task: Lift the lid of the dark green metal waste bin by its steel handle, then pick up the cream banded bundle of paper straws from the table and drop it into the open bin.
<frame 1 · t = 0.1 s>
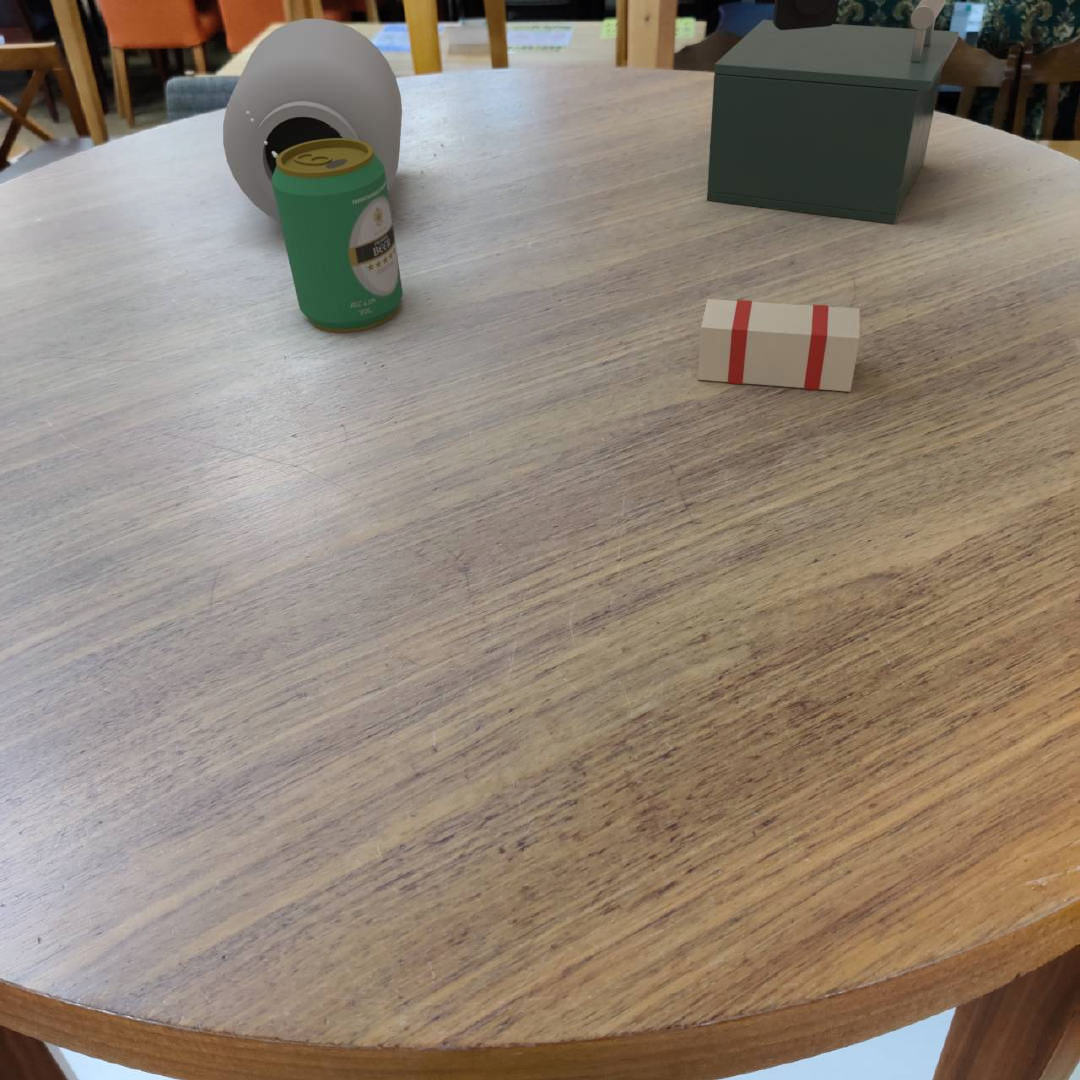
hand: (775, 4, 56), 22 cm above the table, tool pointing down, fingers open, 9 cm apart
bin lid: (842, 25, 85), point 13 cm above the table, hinge at 0.0°
straw bundle: (774, 370, 69), on the table
jar: (349, 223, 93), on the table
beverage can: (353, 312, 79), on the table
bin: (817, 182, 94), on the table
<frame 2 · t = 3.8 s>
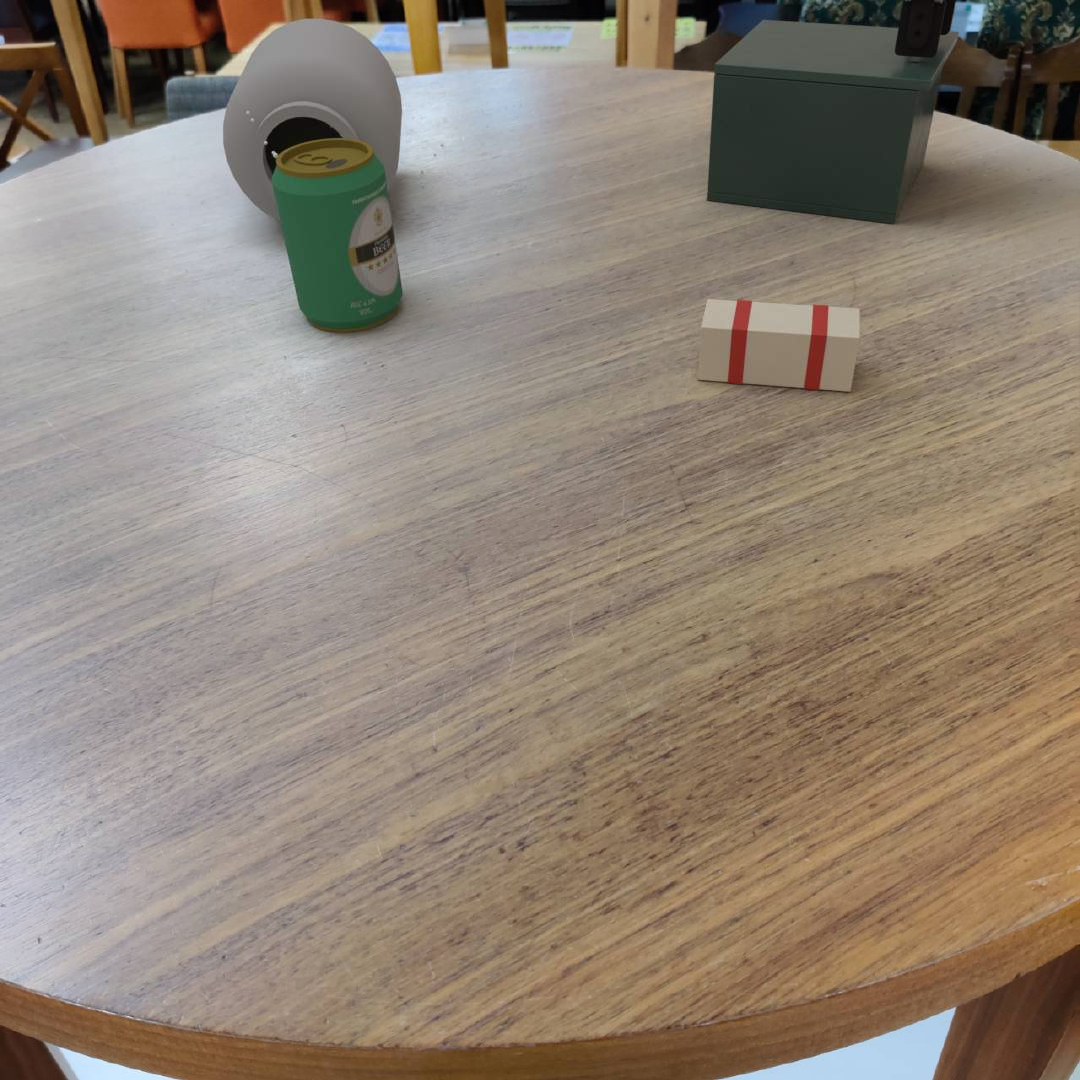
hand: (922, 41, 84), 12 cm above the table, tool pointing down, fingers closed on bin lid, 6 cm apart
bin lid: (842, 25, 85), point 13 cm above the table, hinge at 0.0°, touching gripper
everything else where it was.
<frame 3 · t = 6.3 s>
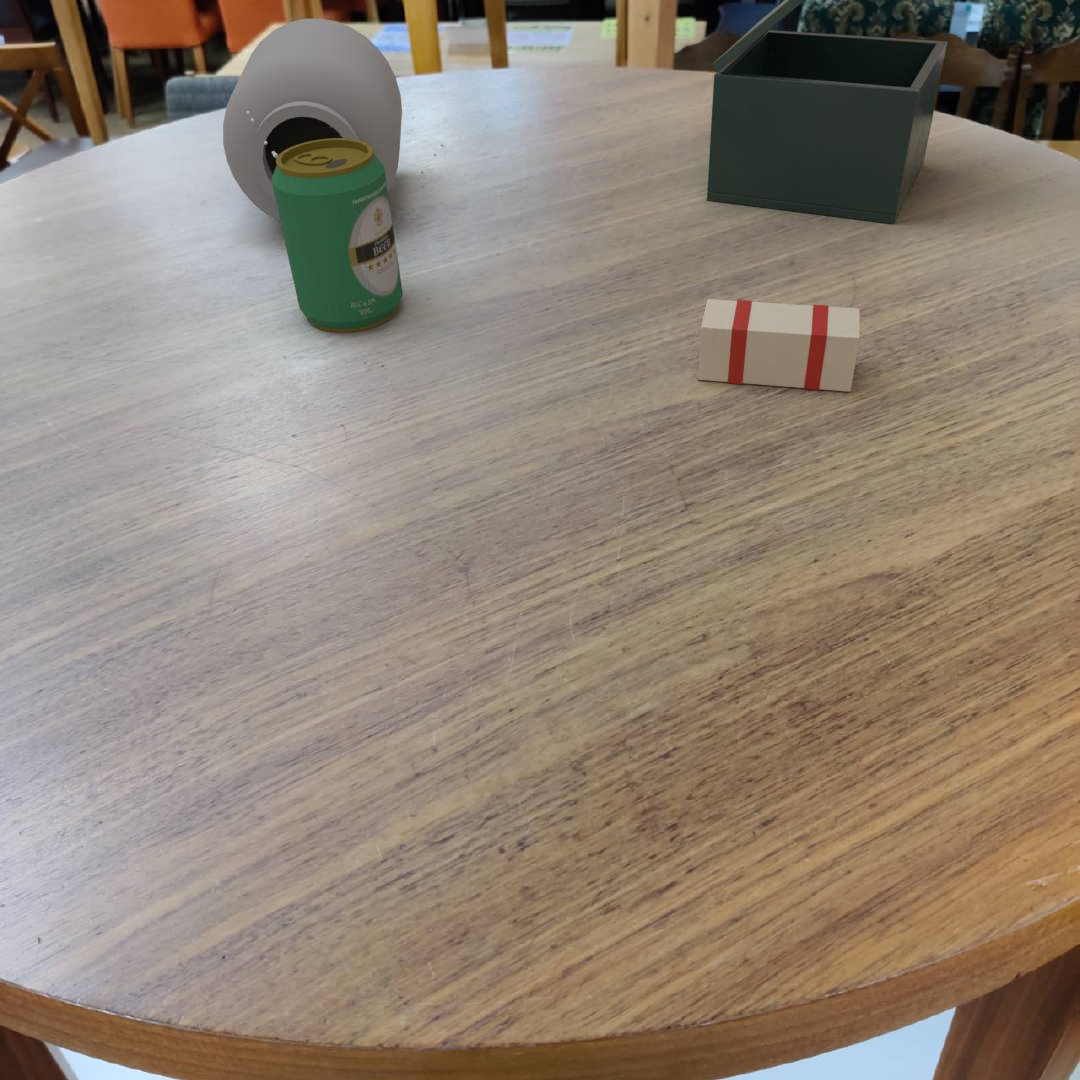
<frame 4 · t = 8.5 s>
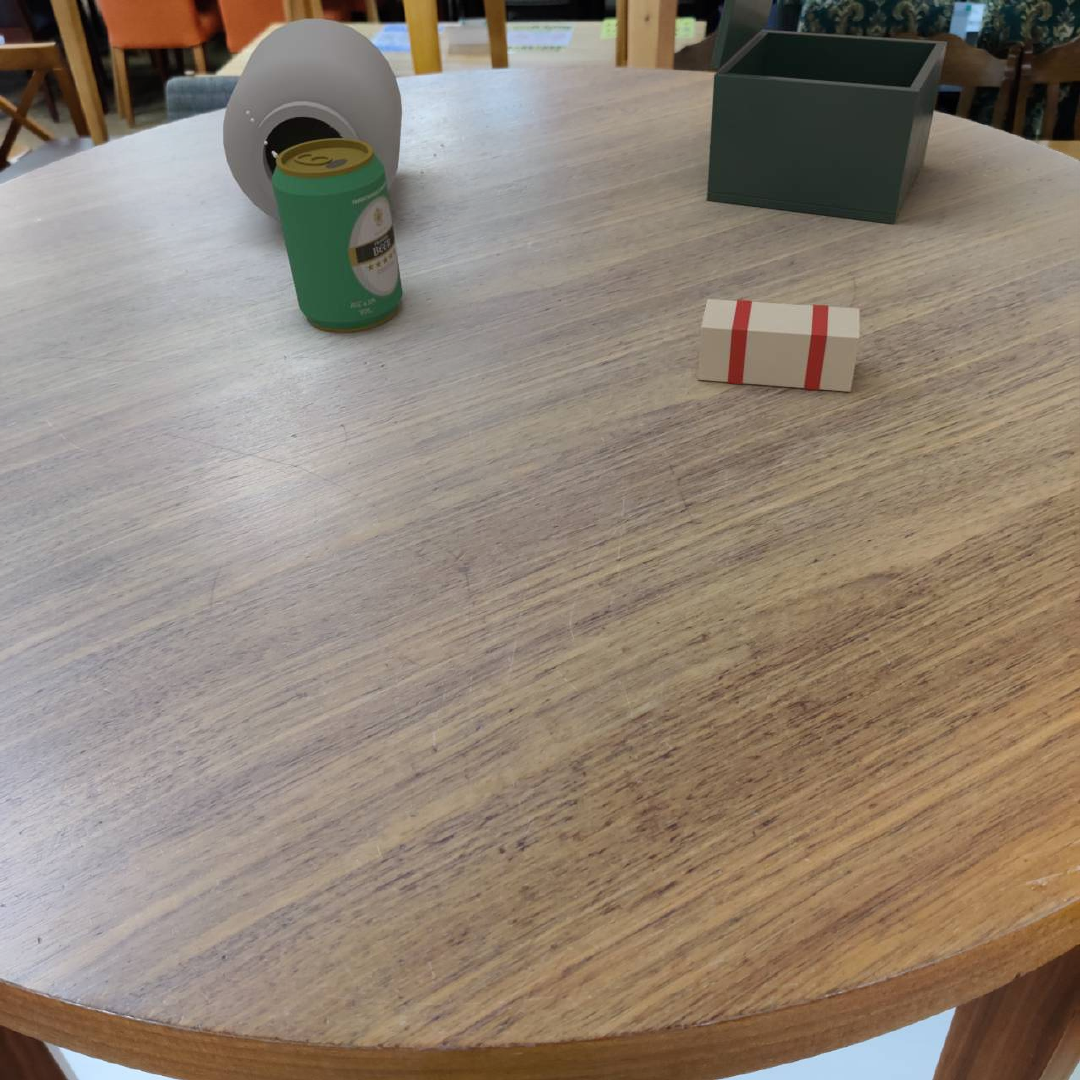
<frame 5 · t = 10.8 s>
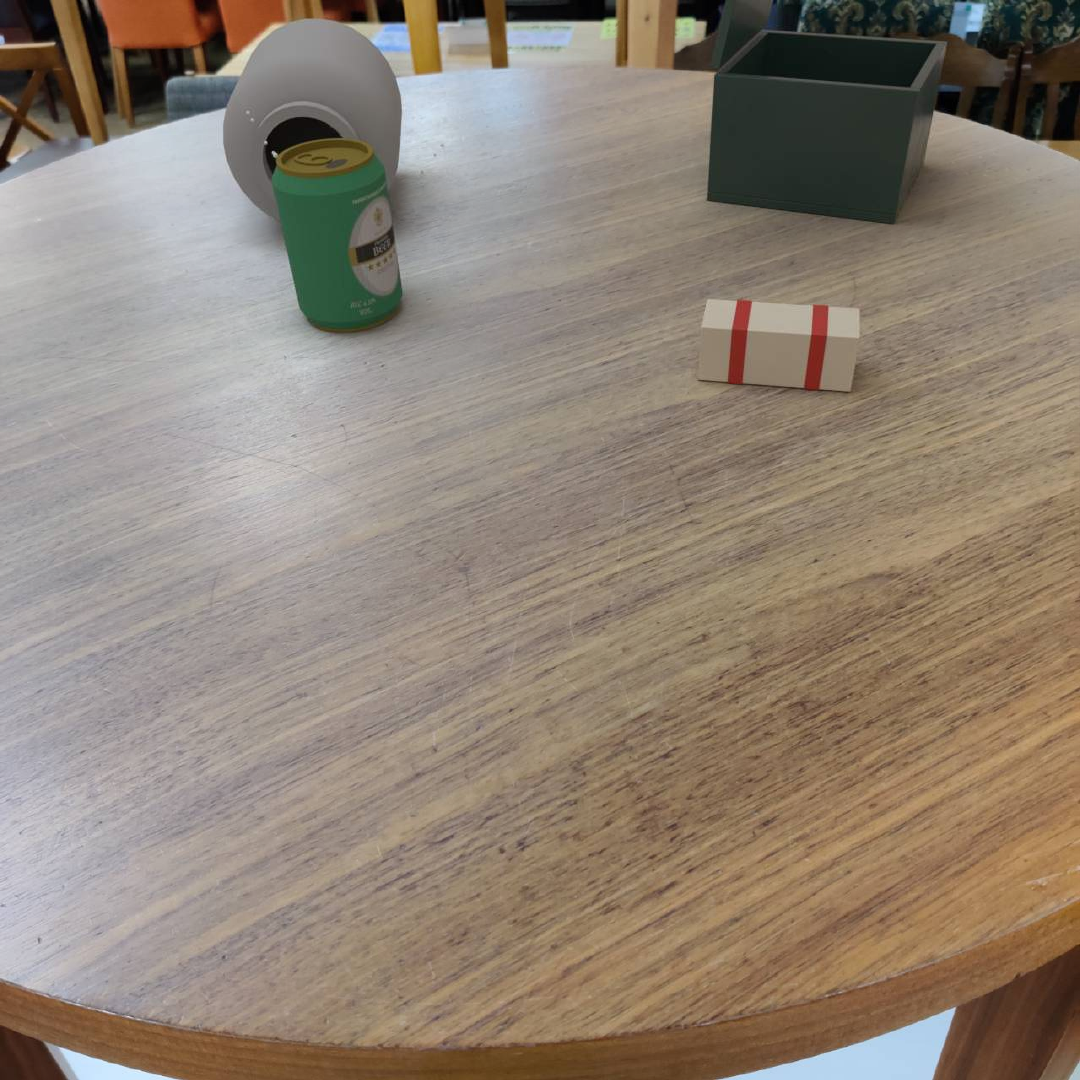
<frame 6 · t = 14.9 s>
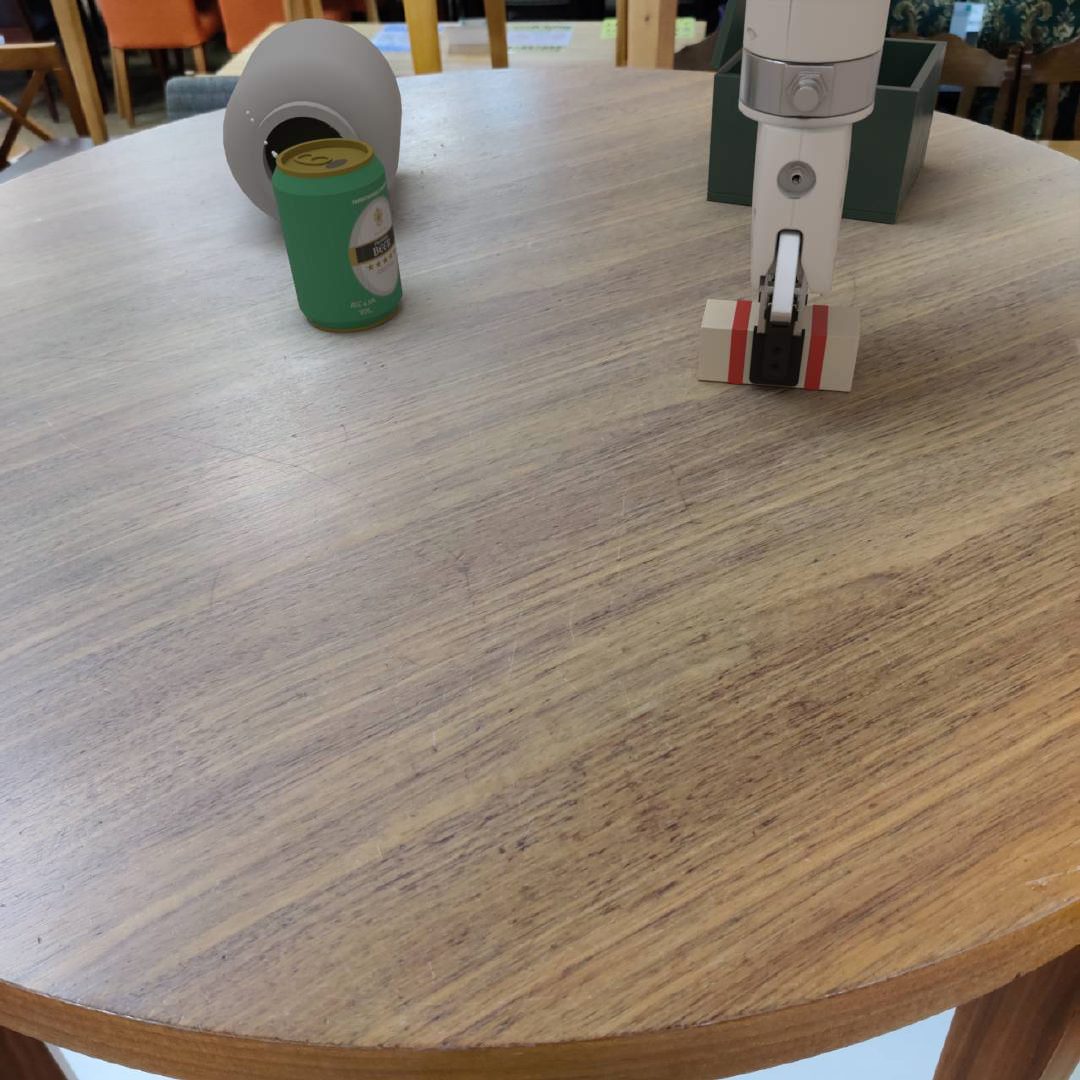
hand: (775, 362, 69), 1 cm above the table, tool pointing down, fingers closed on straw bundle, 4 cm apart
straw bundle: (774, 370, 69), on the table, touching gripper
when the fingers open (10 cm above the table, at t = 22.5 s): straw bundle drops 9 cm, resting on bin.
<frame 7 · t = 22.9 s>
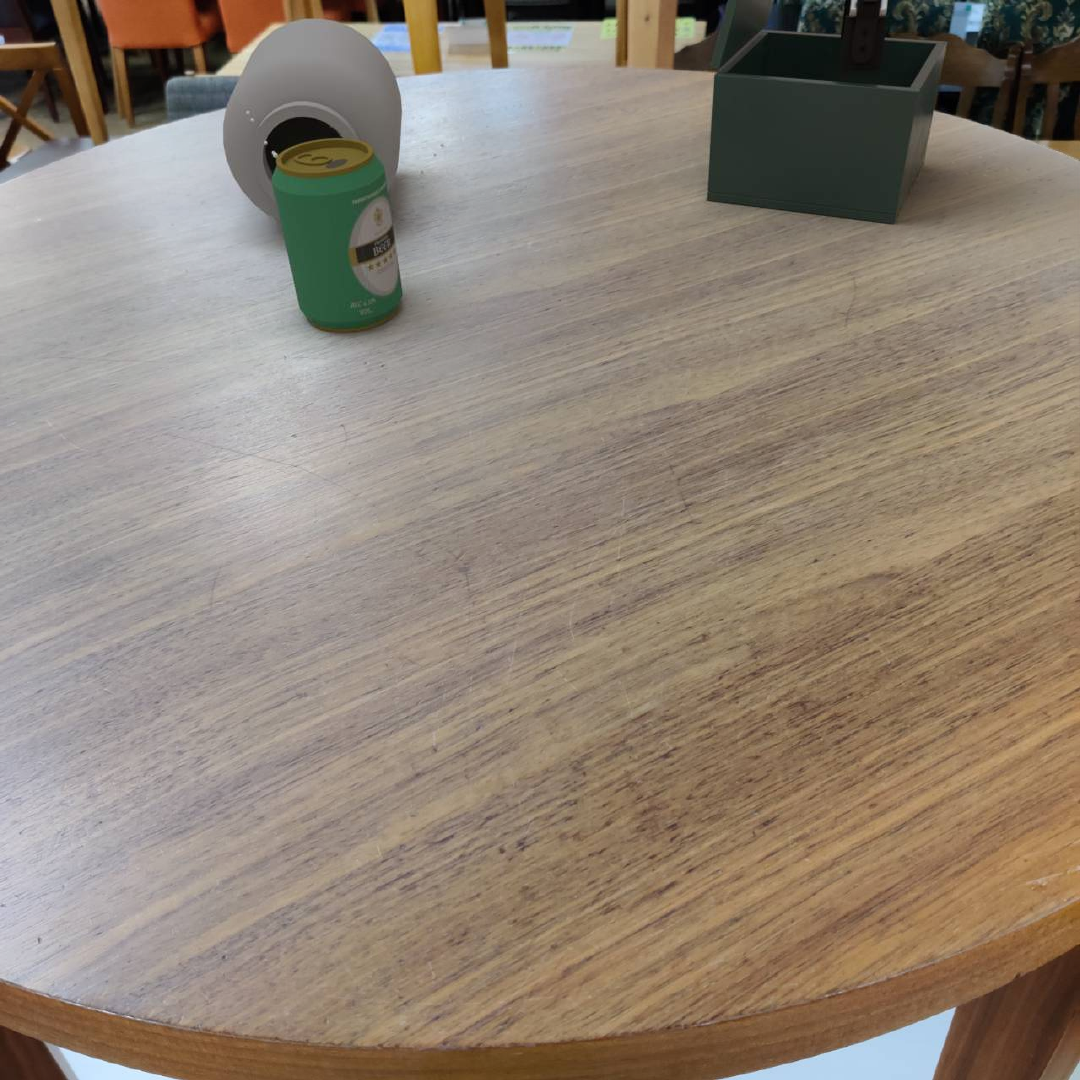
hand: (859, 53, 86), 11 cm above the table, tool pointing down, fingers open, 8 cm apart
straw bundle: (839, 175, 93), point 1 cm above the table, touching bin
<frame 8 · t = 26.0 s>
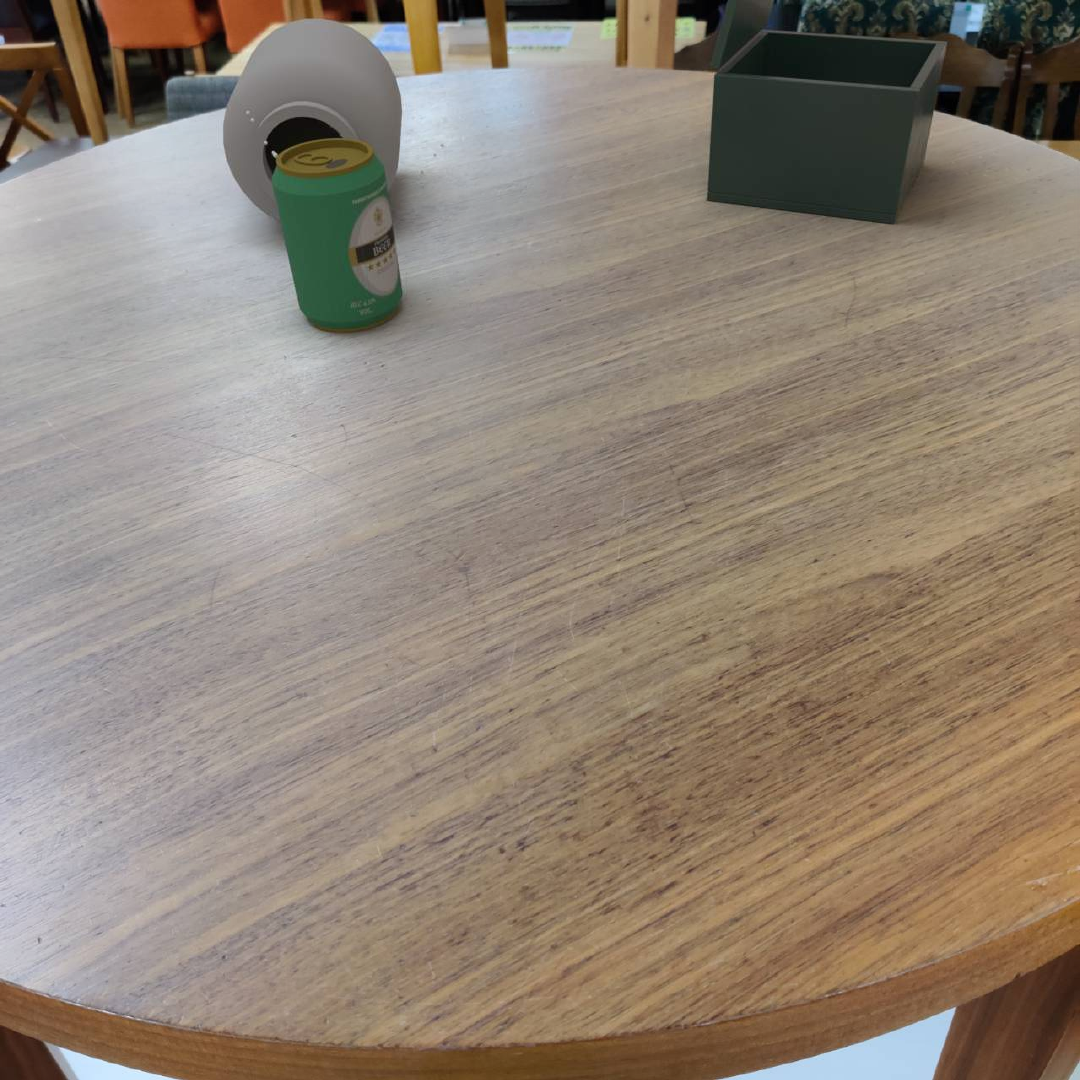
at the end: bin lid at +77° (first picture: +0°); straw bundle inside the target area in the bin (1.9 cm from its centre), point 0.8 cm above the bin's base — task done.
